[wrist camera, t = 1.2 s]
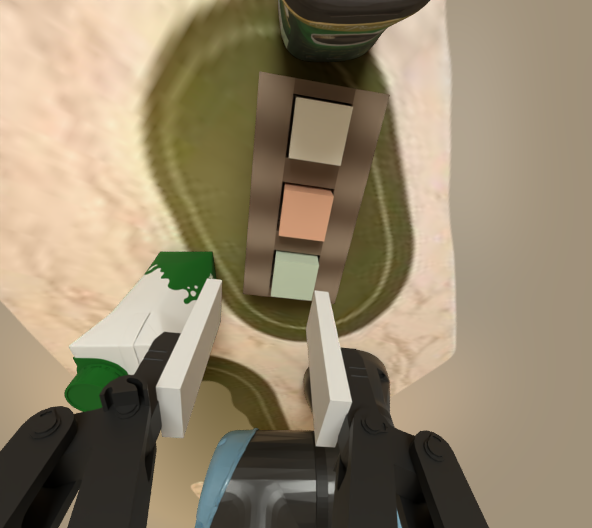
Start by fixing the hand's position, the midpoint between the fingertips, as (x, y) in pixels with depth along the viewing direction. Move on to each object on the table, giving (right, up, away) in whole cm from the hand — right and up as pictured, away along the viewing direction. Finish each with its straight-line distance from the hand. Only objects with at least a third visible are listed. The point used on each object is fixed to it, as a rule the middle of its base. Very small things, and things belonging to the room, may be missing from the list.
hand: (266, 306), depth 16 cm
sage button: (+1, +2, +21) cm, 21 cm away
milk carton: (-13, +1, +25) cm, 29 cm away
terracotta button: (+2, +9, +17) cm, 19 cm away
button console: (+2, +11, +20) cm, 23 cm away
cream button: (+4, +16, +13) cm, 21 cm away
